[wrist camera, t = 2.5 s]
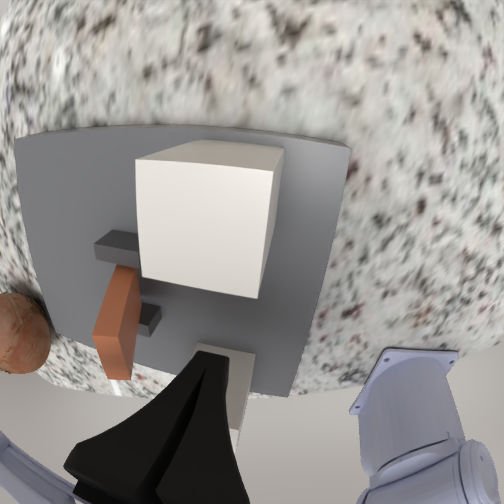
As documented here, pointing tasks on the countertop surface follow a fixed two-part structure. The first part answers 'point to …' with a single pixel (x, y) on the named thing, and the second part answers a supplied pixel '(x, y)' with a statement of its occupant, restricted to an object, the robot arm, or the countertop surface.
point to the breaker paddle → (119, 323)
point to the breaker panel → (128, 253)
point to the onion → (22, 334)
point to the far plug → (234, 386)
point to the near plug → (208, 214)
